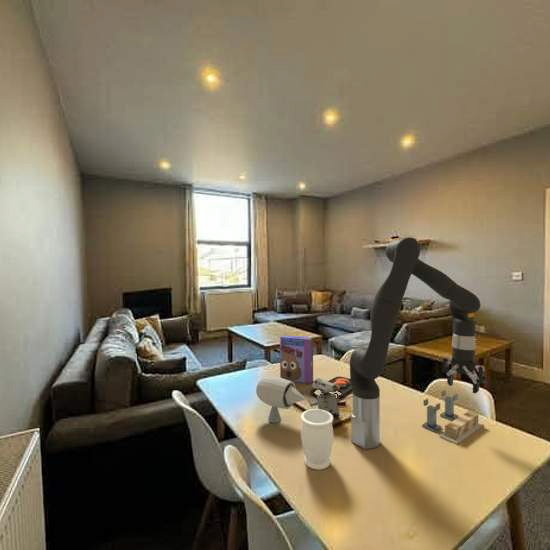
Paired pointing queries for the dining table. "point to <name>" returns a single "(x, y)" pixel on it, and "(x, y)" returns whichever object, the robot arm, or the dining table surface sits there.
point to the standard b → (449, 407)
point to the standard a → (431, 417)
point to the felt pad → (462, 434)
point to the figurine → (326, 396)
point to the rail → (461, 425)
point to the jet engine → (277, 395)
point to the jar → (317, 437)
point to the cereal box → (296, 359)
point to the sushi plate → (340, 385)
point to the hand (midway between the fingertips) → (462, 389)
